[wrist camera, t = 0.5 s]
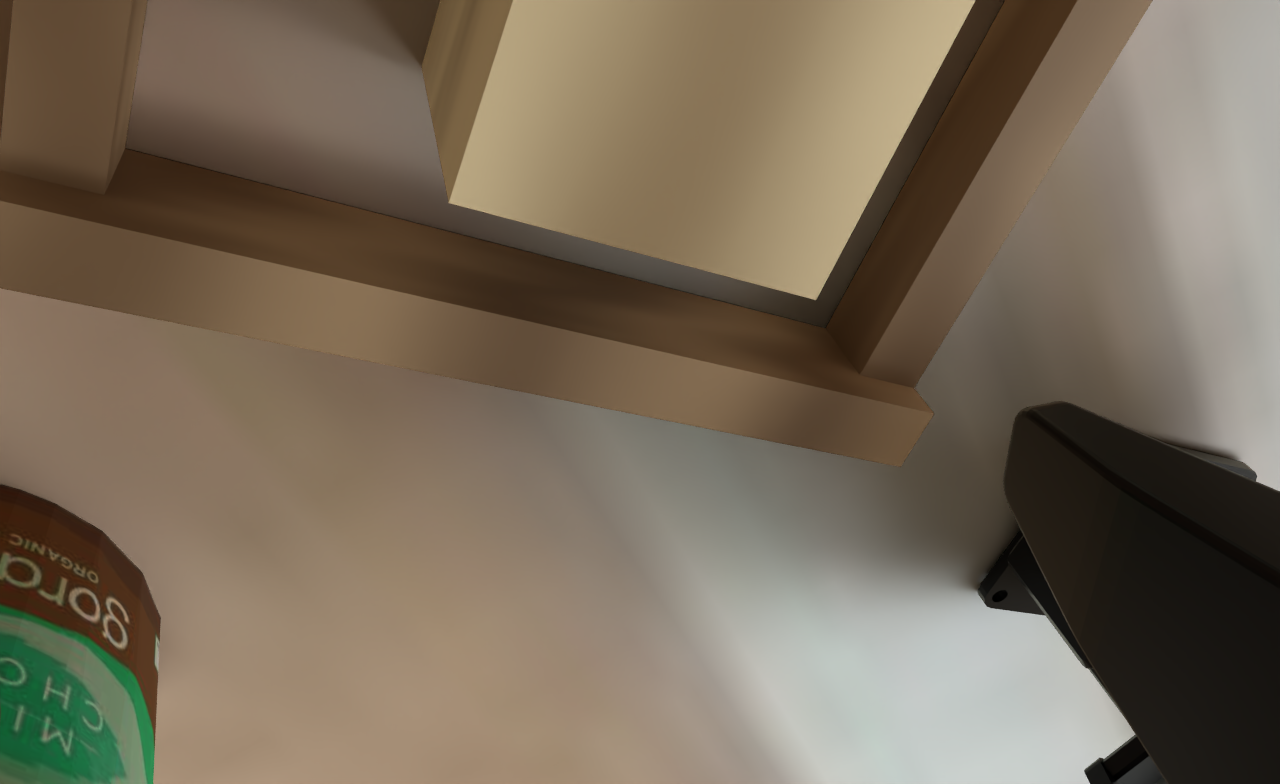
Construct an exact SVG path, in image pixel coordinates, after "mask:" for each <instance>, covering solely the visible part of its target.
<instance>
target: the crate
mask: <svg viewBox="0 0 1280 784" xmlns="http://www.w3.org/2000/svg"><path fill="white" fill-rule="evenodd" d="M974 2H975V0H440V3H439V7H438V10H437V14H436V17H435V21H434V25H433V28H432V32H431V35H430V39H429V42H428V46H427V49H426V53H425V56H424V60H423V63H422V72H423V77H424V82H425V87H426V92H427V97H428V102H429V107H430V112H431V117H432V122H433V127H434V132H435V137H436V142H437V147H438V152H439V157H440V162H441V167H442V172H443V177H444V182H445V187H446V192H447V197H448V202H449V203H451V204H454V205H458V206H462V207H466V208H470V209H473V210H477V211H481V212H485V213H489V214H492V215H496V216H500V217H504V218H507V219H511V220H515V221H519V222H523V223H526V224H530V225H534V226H538V227H541V228H545V229H549V230H553V231H557V232H560V233H564V234H568V235H572V236H575V237H579V238H583V239H587V240H591V241H594V242H598V243H602V244H606V245H610V246H613V247H617V248H621V249H625V250H628V251H632V252H636V253H640V254H644V255H647V256H651V257H655V258H659V259H662V260H666V261H670V262H674V263H678V264H681V265H685V266H689V267H693V268H696V269H700V270H704V271H708V272H712V273H715V274H719V275H723V276H727V277H730V278H734V279H738V280H742V281H746V282H749V283H753V284H757V285H761V286H765V287H768V288H772V289H776V290H780V291H783V292H787V293H791V294H795V295H799V296H802V297H806V298H810V299H814V300H816V299H817V297H818V295H819V294H820V292H821V290H822V288H823V286H824V284H825V282H826V280H827V279H828V277H829V275H830V273H831V271H832V269H833V267H834V265H835V264H836V262H837V260H838V258H839V256H840V254H841V252H842V250H843V248H844V247H845V245H846V243H847V241H848V239H849V237H850V235H851V233H852V232H853V230H854V228H855V226H856V224H857V222H858V220H859V218H860V217H861V215H862V213H863V211H864V209H865V207H866V205H867V203H868V202H869V200H870V198H871V196H872V194H873V192H874V190H875V188H876V186H877V185H878V183H879V181H880V179H881V177H882V175H883V173H884V171H885V170H886V168H887V166H888V164H889V162H890V160H891V158H892V156H893V155H894V153H895V151H896V149H897V147H898V145H899V143H900V141H901V139H902V138H903V136H904V134H905V132H906V130H907V128H908V126H909V124H910V123H911V121H912V119H913V117H914V115H915V113H916V111H917V109H918V108H919V106H920V104H921V102H922V100H923V98H924V96H925V94H926V93H927V91H928V89H929V87H930V85H931V83H932V81H933V79H934V77H935V76H936V74H937V72H938V70H939V68H940V66H941V64H942V62H943V61H944V59H945V57H946V55H947V53H948V51H949V49H950V47H951V46H952V44H953V42H954V40H955V38H956V36H957V34H958V32H959V30H960V29H961V27H962V25H963V23H964V21H965V19H966V17H967V15H968V14H969V12H970V10H971V8H972V6H973V4H974Z"/></svg>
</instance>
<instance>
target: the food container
mask: <svg viewBox="0 0 1280 784" xmlns="http://www.w3.org/2000/svg"><path fill="white" fill-rule="evenodd" d="M160 620H161V618H160V615H159V613H158V610H157V608H156V605H155V603H154V600H153V598H152V595H151V593H150V590H149V588H148V585H147V583H146V580H145V578H144V575H143V573H142V572H141V571H140V570H139V569H138V568H137V567H136V566H135V565H134V564H133V563H132V562H131V560H130V559H129V558H128V557H127V556H126V555H125V554H124V553H123V552H122V551H121V550H120V549H119V548H118V547H117V546H116V545H115V544H114V543H113V542H112V541H111V540H110V539H109V538H108V537H107V536H106V535H105V534H104V532H103V531H101V530H99V529H98V528H96V527H94V526H93V525H91V524H89V523H87V522H86V521H84V520H82V519H81V518H79V517H77V516H75V515H74V514H72V513H70V512H69V511H67V510H65V509H63V508H62V507H60V506H58V505H57V504H55V503H52V502H49V501H47V500H44V499H42V498H39V497H37V496H34V495H32V494H29V493H27V492H24V491H22V490H19V489H15V488H11V487H8V486H4V485H0V706H1V719H0V784H153V773H154V751H155V729H156V707H157V685H158V663H159V642H160Z"/></svg>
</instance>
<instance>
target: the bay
mask: <svg viewBox="0 0 1280 784" xmlns="http://www.w3.org/2000/svg"><path fill="white" fill-rule="evenodd" d="M147 1H148V0H13V6H12V18H11V29H10V40H9V51H8V62H7V73H6V84H5V95H4V106H3V118H2V129H1V140H0V288H2V289H7V290H12V291H17V292H22V293H27V294H32V295H37V296H42V297H48V298H53V299H58V300H63V301H68V302H73V303H78V304H83V305H88V306H93V307H98V308H103V309H108V310H113V311H118V312H123V313H128V314H133V315H138V316H143V317H148V318H153V319H158V320H163V321H168V322H173V323H178V324H183V325H188V326H193V327H198V328H204V329H209V330H214V331H219V332H224V333H229V334H234V335H239V336H244V337H249V338H254V339H259V340H264V341H269V342H274V343H279V344H284V345H289V346H294V347H299V348H304V349H309V350H314V351H319V352H324V353H329V354H334V355H339V356H344V357H349V358H355V359H360V360H365V361H370V362H375V363H380V364H385V365H390V366H395V367H400V368H405V369H410V370H415V371H420V372H425V373H430V374H435V375H440V376H445V377H450V378H455V379H460V380H465V381H470V382H475V383H480V384H485V385H490V386H495V387H500V388H506V389H511V390H516V391H521V392H526V393H531V394H536V395H541V396H546V397H551V398H556V399H561V400H566V401H571V402H576V403H581V404H586V405H591V406H596V407H601V408H606V409H611V410H616V411H621V412H626V413H631V414H636V415H641V416H646V417H651V418H656V419H662V420H667V421H672V422H677V423H682V424H687V425H692V426H697V427H702V428H707V429H712V430H717V431H722V432H727V433H732V434H737V435H742V436H747V437H752V438H757V439H762V440H767V441H772V442H777V443H782V444H787V445H792V446H797V447H802V448H807V449H813V450H818V451H823V452H828V453H833V454H838V455H843V456H848V457H853V458H858V459H863V460H868V461H873V462H878V463H883V464H888V465H893V466H898V467H901V465H902V464H903V462H904V461H905V459H906V458H907V456H908V454H909V453H910V451H911V450H912V448H913V447H914V445H915V443H916V442H917V440H918V439H919V437H920V436H921V434H922V432H923V431H924V429H925V428H926V426H927V425H928V423H929V421H930V420H931V418H932V417H933V415H934V413H933V412H932V410H931V409H930V408H929V407H928V405H927V404H926V403H925V402H924V400H923V399H922V398H921V396H920V395H919V394H918V393H917V391H916V390H915V389H914V387H915V386H916V384H917V382H918V381H919V379H920V377H921V376H922V374H923V373H924V371H925V369H926V368H927V366H928V364H929V363H930V361H931V360H932V358H933V356H934V355H935V353H936V351H937V350H938V348H939V347H940V345H941V343H942V342H943V340H944V338H945V337H946V335H947V334H948V332H949V330H950V329H951V327H952V325H953V324H954V322H955V321H956V319H957V317H958V316H959V314H960V312H961V311H962V309H963V308H964V306H965V304H966V303H967V301H968V299H969V298H970V296H971V295H972V293H973V291H974V290H975V288H976V286H977V285H978V283H979V282H980V280H981V278H982V277H983V275H984V274H985V272H986V270H987V269H988V267H989V265H990V264H991V262H992V261H993V259H994V257H995V256H996V254H997V252H998V251H999V249H1000V248H1001V246H1002V244H1003V243H1004V241H1005V239H1006V238H1007V236H1008V235H1009V233H1010V231H1011V230H1012V228H1013V226H1014V225H1015V223H1016V222H1017V220H1018V218H1019V217H1020V215H1021V213H1022V212H1023V210H1024V209H1025V207H1026V205H1027V204H1028V202H1029V200H1030V199H1031V197H1032V196H1033V194H1034V192H1035V191H1036V189H1037V187H1038V186H1039V184H1040V183H1041V181H1042V179H1043V178H1044V176H1045V174H1046V173H1047V171H1048V170H1049V168H1050V166H1051V165H1052V163H1053V161H1054V160H1055V158H1056V157H1057V155H1058V153H1059V152H1060V150H1061V148H1062V147H1063V145H1064V144H1065V142H1066V140H1067V139H1068V137H1069V135H1070V134H1071V132H1072V131H1073V129H1074V127H1075V126H1076V124H1077V122H1078V121H1079V119H1080V118H1081V116H1082V114H1083V113H1084V111H1085V109H1086V108H1087V106H1088V105H1089V103H1090V101H1091V100H1092V98H1093V96H1094V95H1095V93H1096V92H1097V90H1098V88H1099V87H1100V85H1101V83H1102V82H1103V80H1104V79H1105V77H1106V75H1107V74H1108V72H1109V70H1110V69H1111V67H1112V66H1113V64H1114V62H1115V61H1116V59H1117V57H1118V56H1119V54H1120V53H1121V51H1122V49H1123V48H1124V46H1125V45H1126V43H1127V41H1128V40H1129V38H1130V36H1131V35H1132V33H1133V32H1134V30H1135V28H1136V27H1137V25H1138V23H1139V22H1140V20H1141V19H1142V17H1143V15H1144V14H1145V12H1146V10H1147V9H1148V7H1149V6H1150V4H1151V2H1152V1H1153V0H1005V2H1004V4H1003V5H1002V7H1001V9H1000V11H999V13H998V14H997V16H996V18H995V20H994V22H993V24H992V25H991V27H990V29H989V31H988V33H987V35H986V36H985V38H984V40H983V42H982V44H981V46H980V47H979V49H978V51H977V53H976V55H975V56H974V58H973V60H972V62H971V64H970V66H969V67H968V69H967V71H966V73H965V75H964V77H963V78H962V80H961V82H960V84H959V86H958V88H957V89H956V91H955V93H954V95H953V97H952V98H951V100H950V102H949V104H948V106H947V108H946V109H945V111H944V113H943V115H942V117H941V119H940V120H939V122H938V124H937V126H936V128H935V129H934V131H933V133H932V135H931V137H930V139H929V140H928V142H927V144H926V146H925V148H924V150H923V151H922V153H921V155H920V157H919V159H918V161H917V162H916V164H915V166H914V168H913V170H912V171H911V173H910V175H909V177H908V179H907V181H906V182H905V184H904V186H903V188H902V190H901V192H900V193H899V195H898V197H897V199H896V201H895V203H894V204H893V206H892V208H891V210H890V212H889V213H888V215H887V217H886V219H885V221H884V223H883V224H882V226H881V228H880V230H879V232H878V234H877V235H876V237H875V239H874V241H873V243H872V245H871V246H870V248H869V250H868V252H867V254H866V255H865V257H864V259H863V261H862V263H861V265H860V266H859V268H858V270H857V272H856V274H855V276H854V277H853V279H852V281H851V283H850V285H849V287H848V288H847V290H846V292H845V294H844V296H843V297H842V299H841V301H840V303H839V305H838V307H837V308H836V310H835V312H834V314H833V316H832V318H831V319H830V321H829V323H828V325H827V327H826V328H822V327H818V326H814V325H811V324H807V323H803V322H799V321H795V320H791V319H787V318H783V317H779V316H776V315H772V314H768V313H764V312H760V311H756V310H752V309H748V308H744V307H740V306H737V305H733V304H729V303H725V302H721V301H717V300H713V299H709V298H705V297H701V296H698V295H694V294H690V293H686V292H682V291H678V290H674V289H670V288H666V287H663V286H659V285H655V284H651V283H647V282H643V281H639V280H635V279H631V278H627V277H624V276H620V275H616V274H612V273H608V272H604V271H600V270H596V269H592V268H588V267H585V266H581V265H577V264H573V263H569V262H565V261H561V260H557V259H553V258H549V257H546V256H542V255H538V254H534V253H530V252H526V251H522V250H518V249H514V248H511V247H507V246H503V245H499V244H495V243H491V242H487V241H483V240H479V239H475V238H472V237H468V236H464V235H460V234H456V233H452V232H448V231H444V230H440V229H436V228H433V227H429V226H425V225H421V224H417V223H413V222H409V221H405V220H401V219H398V218H394V217H390V216H386V215H382V214H378V213H374V212H370V211H366V210H362V209H359V208H355V207H351V206H347V205H343V204H339V203H335V202H331V201H327V200H323V199H320V198H316V197H312V196H308V195H304V194H300V193H296V192H292V191H288V190H284V189H281V188H277V187H273V186H269V185H265V184H261V183H257V182H253V181H249V180H246V179H242V178H238V177H234V176H230V175H226V174H222V173H218V172H214V171H210V170H207V169H203V168H199V167H195V166H191V165H187V164H183V163H179V162H175V161H171V160H168V159H164V158H160V157H156V156H152V155H148V154H144V153H140V152H136V151H133V150H129V149H125V145H126V139H127V132H128V126H129V119H130V112H131V106H132V99H133V93H134V86H135V79H136V73H137V66H138V60H139V53H140V47H141V40H142V33H143V27H144V20H145V14H146V7H147Z"/></svg>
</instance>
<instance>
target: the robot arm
mask: <svg viewBox="0 0 1280 784" xmlns="http://www.w3.org/2000/svg"><path fill="white" fill-rule="evenodd" d="M1256 478H1257V475H1256V473H1255V472H1254V471H1253V470H1252V469H1251V468H1250V467H1249V466H1247V465H1246V464H1245V463H1243V462H1239V461H1235V460H1231V459H1227V458H1223V457H1219V456H1215V455H1210V454H1206V453H1202V452H1198V451H1194V450H1190V449H1186V448H1181V447H1177V446H1173V445H1169V444H1166V443H1164V442H1161V441H1159V440H1156V439H1154V438H1152V437H1149V436H1147V435H1145V434H1142V433H1140V432H1137V431H1135V430H1133V429H1130V428H1128V427H1126V426H1123V425H1121V424H1119V423H1116V422H1114V421H1111V420H1109V419H1107V418H1104V417H1102V416H1100V415H1097V414H1095V413H1092V412H1090V411H1088V410H1085V409H1083V408H1081V407H1078V406H1076V405H1073V404H1071V403H1068V402H1063V401H1059V402H1052V403H1047V404H1042V405H1037V406H1032V407H1027V408H1025V409H1023V410H1021V411H1020V412H1019V413H1018V415H1017V416H1016V418H1015V421H1014V424H1013V429H1012V435H1011V440H1010V445H1009V451H1008V456H1007V461H1006V467H1005V472H1004V491H1005V496H1006V499H1007V502H1008V504H1009V507H1010V509H1011V511H1012V513H1013V515H1014V517H1015V519H1016V521H1017V523H1018V525H1019V527H1020V529H1021V530H1020V532H1019V533H1018V534H1017V536H1016V537H1015V538H1014V540H1013V541H1012V542H1011V544H1010V545H1009V547H1008V548H1007V549H1006V551H1005V552H1004V553H1003V555H1002V556H1001V557H1000V559H999V560H998V561H997V563H996V564H995V566H994V567H993V568H992V570H991V571H990V572H989V574H988V575H987V576H986V578H985V579H984V581H983V582H982V583H981V585H980V587H979V589H978V594H979V596H980V597H981V599H982V600H983V602H984V603H985V604H986V606H987V607H990V608H995V609H1002V610H1010V611H1017V612H1024V613H1032V614H1039V615H1046V617H1047V618H1048V619H1049V621H1050V622H1051V623H1052V625H1053V626H1054V627H1055V629H1056V630H1057V631H1058V633H1059V634H1060V636H1061V637H1062V638H1063V640H1064V641H1065V642H1066V644H1067V645H1068V646H1069V648H1070V649H1071V650H1072V652H1073V653H1074V654H1075V656H1076V657H1077V658H1078V660H1079V661H1080V663H1081V664H1082V665H1083V666H1084V667H1086V668H1088V669H1089V670H1090V672H1091V673H1092V674H1093V676H1094V677H1095V678H1096V680H1097V681H1098V682H1099V684H1100V685H1101V686H1102V688H1103V689H1104V690H1105V692H1106V693H1107V694H1108V696H1109V697H1110V698H1111V700H1112V701H1113V702H1114V704H1115V705H1116V707H1117V708H1118V709H1119V711H1120V712H1121V713H1122V715H1123V716H1124V717H1125V719H1126V720H1127V722H1128V723H1129V725H1130V726H1131V728H1132V729H1133V731H1134V732H1135V734H1136V735H1134V736H1133V737H1132V738H1131V739H1129V740H1128V741H1127V742H1125V743H1124V744H1123V745H1122V746H1120V747H1119V748H1118V749H1116V750H1115V751H1114V752H1113V753H1111V754H1110V755H1109V756H1107V757H1106V758H1105V759H1103V758H1099V759H1097V760H1096V761H1095V762H1094V763H1092V764H1091V765H1090V766H1088V767H1087V768H1086V769H1085V770H1084V771H1085V774H1086V776H1087V778H1088V780H1089V782H1090V784H1280V491H1277V490H1275V489H1273V488H1270V487H1268V486H1266V485H1263V484H1261V483H1258V482H1256ZM0 719H1V706H0Z"/></svg>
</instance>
